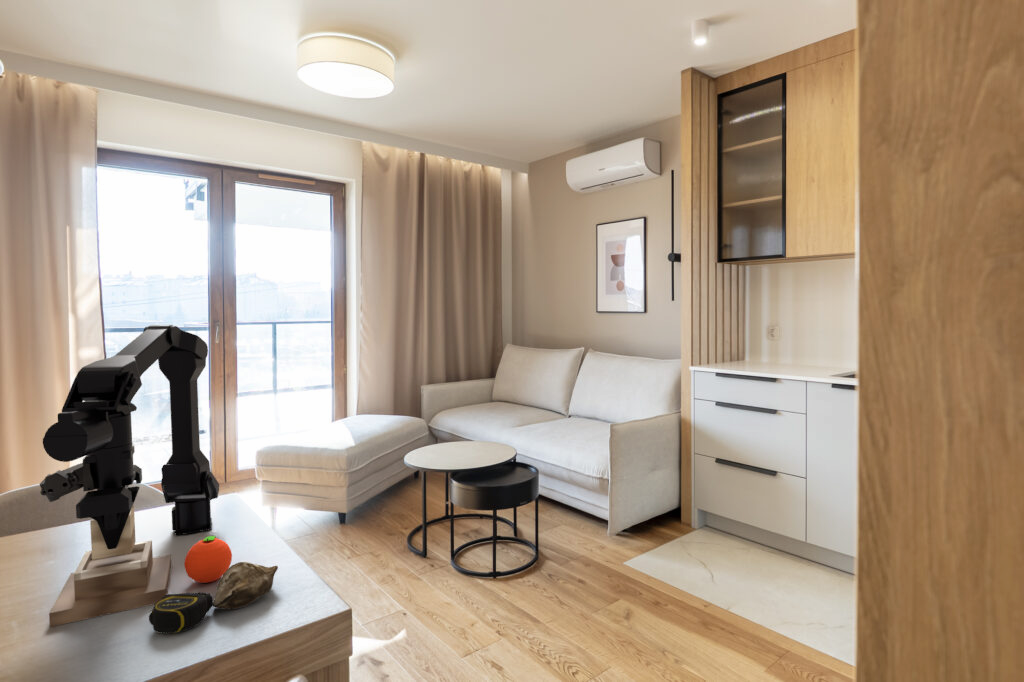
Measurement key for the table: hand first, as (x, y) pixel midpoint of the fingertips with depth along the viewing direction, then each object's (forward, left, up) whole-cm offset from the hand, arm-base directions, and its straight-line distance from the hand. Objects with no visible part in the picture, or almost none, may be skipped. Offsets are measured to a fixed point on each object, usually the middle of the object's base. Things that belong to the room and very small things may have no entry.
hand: (114, 542), depth 88 cm
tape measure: (-9, +15, -9) cm, 19 cm away
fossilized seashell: (-18, +12, -8) cm, 23 cm away
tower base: (0, 0, -8) cm, 8 cm away
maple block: (0, 0, -1) cm, 1 cm away
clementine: (-13, +2, -8) cm, 16 cm away
